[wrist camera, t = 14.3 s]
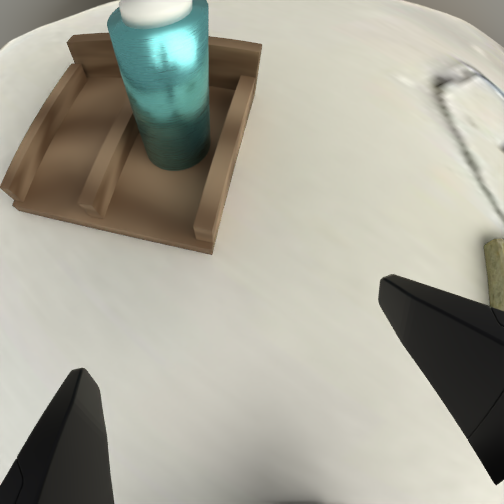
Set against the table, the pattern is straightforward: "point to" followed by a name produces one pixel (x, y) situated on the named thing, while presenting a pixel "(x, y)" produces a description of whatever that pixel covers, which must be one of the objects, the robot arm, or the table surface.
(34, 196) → the rack
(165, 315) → the table surface
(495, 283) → the decorative tile
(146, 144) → the spray can
